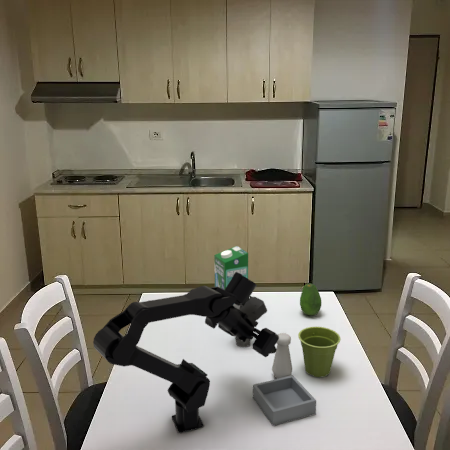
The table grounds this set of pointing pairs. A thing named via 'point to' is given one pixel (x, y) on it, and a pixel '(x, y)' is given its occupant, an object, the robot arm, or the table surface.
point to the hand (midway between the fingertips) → (263, 344)
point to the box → (284, 400)
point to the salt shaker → (282, 357)
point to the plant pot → (318, 349)
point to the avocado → (310, 300)
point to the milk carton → (230, 265)
